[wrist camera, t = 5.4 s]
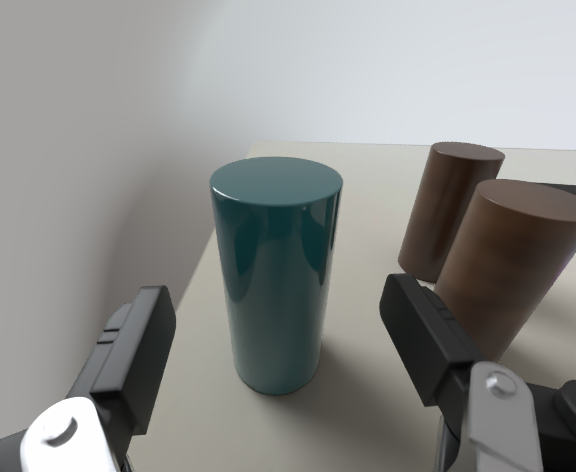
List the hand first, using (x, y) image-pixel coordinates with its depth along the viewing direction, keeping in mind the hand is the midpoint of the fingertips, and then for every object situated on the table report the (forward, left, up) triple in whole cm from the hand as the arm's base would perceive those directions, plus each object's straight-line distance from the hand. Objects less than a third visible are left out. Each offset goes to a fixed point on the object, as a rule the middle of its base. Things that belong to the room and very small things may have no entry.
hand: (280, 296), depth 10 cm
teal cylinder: (-1, +2, -6) cm, 6 cm away
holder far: (+9, +11, -6) cm, 16 cm away
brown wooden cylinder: (+9, +4, -6) cm, 12 cm away
